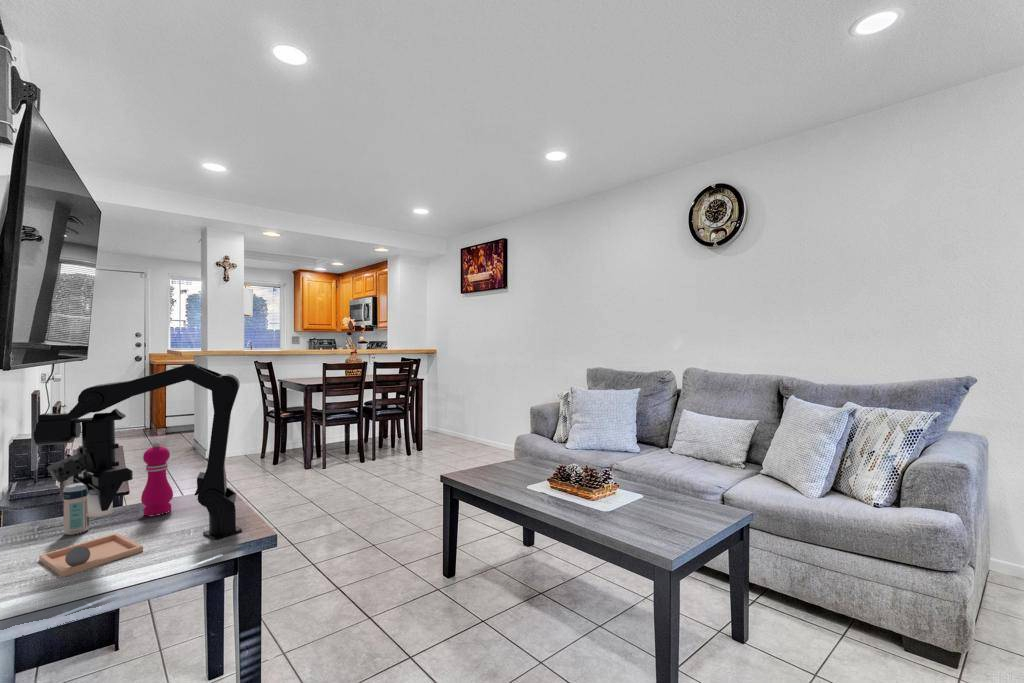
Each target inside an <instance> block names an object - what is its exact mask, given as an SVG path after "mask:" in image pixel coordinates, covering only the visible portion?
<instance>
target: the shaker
mask: <svg viewBox="0 0 1024 683" xmlns="http://www.w3.org/2000/svg"><path fill="white" fill-rule="evenodd" d="M113 501H114V500H113ZM113 501H112V503H111V505H110V507H109V509H108V510H106V511H101V508H100V504H99V499H98V495H97V490H96V489H95V488H93V489H91V490H89V493H88V494H87V511H88V517H89V518H96V517H101V516H106V515H109V514H112V513H113V512H114V507H113V506H114V505H113Z"/></svg>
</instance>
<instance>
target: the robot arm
mask: <svg viewBox="0 0 1024 683" xmlns="http://www.w3.org/2000/svg"><path fill="white" fill-rule="evenodd" d="M185 381H189V382H192V383H194V384H196V385H198V386H201V387H203V388H204V389H207V390H210V391H211V398H212V400H211V401H212V406H213V407H212V408H213V418H212V427H211V433H210V442H209V449H208V450H209V451H208V459H207V466H206V470H205V472H202V471H200V472H199V474H198V476H197V478H196V486H197V487H196V488H197V489H196V490H195V492H194V496H197V501H198V504H200V505H201V506H203V507H205V508H206V510H207V512H208V527H209V529H207V530H205V531H203V532H202V535H204V536H207V537H209V538H211V539H213V540H219V539H222V538H225V537H229V536H231V535H234V534H237V533H240V532H242V531H243V528H241V527H239V526H237V525H236V523H237V514H236V513H237V512H236V511H237V510H236V509H237V508H236V498H237V493H236V492H235V491H234V490H232V489H230V488H229V487H228V482H227V472H226V466H225V465H226V457H227V450H228V449H227V448H228V442H229V441H228V440H229V431H230V423H231V415H232V411H233V407H234V404H235V402H236V399H237V396H238V392H239V389H240V380H239V378H237V376H236V375H233V374H230V373H224V374H221V373H219V372H217V371H214V370H211V369H208V368H206V367H203V366H200V365H199V364H198V363H195V362H188V363H185V364H183V365H181V366H176V367H174V368H170V369H167V370H163V371H160V372H156V373H153V374H149V375H146V376H142V377H139V378H135V379H132V380H125V381H116V382H109V383H102V384H95V385H93V386H89V387H87V388H85V389H83V390H82V391H81V392H80V393H79V394H78V396H77V403H76V405H75V406H74V407H73V408H72V409H70V411H69V412H62V413H49V412H47V413H41V414H39V415H38V416H37V417H38V418H37V419H38V420H37V422H36V424H35V429H34V431H33V440H34V442H35V445H37V446H46V445H47V446H48V445H49V446H50V445H61V444H62V445H63V444H72V443H73V442H74V441H75V439H78V438H80V437H81V445H79V446H78V447H77V448H76V449H77V450H76V451H77V453H75V454H74V455H71V456H68V457H66V458H63V459H61V460H58V461H57V462H55V463H52V464H50V465H48V466H47V467H46V469H47V471H48V473H49V474H50V476H51V477H52V480H53V481H57V483H63V482H66V481H67V480H69V478H71V477H73V479H74V480H75V481H77V482H78V483H83V484H84V485H85V488H86V490H87V493H89V490H91V489H93V488H95V489H96V490H97V495H98V499H99V504H100V508H101V511H106V510H108V509H109V507H110V505H111V503H112V501H114V500H115V496H116V495H117V493H118V491H119V490H120V488H121V487H122V484H123V483H124V482H129V481H132V480H133V479H134V478H133V475H134V474H133V470H131V469H130V468H129V467H126V466H123V465H120V461H118V460H116V449H119V446H120V445H119V444H120V443H118V442H116V432H115V431H116V429H115V427H116V425H115V424H116V423H115V421H121V420H123V419H125V418H126V417H127V415H126V414H125V413H123V412H121V411H120V410H119V409H118V408H114V409H112V410H111V412H102V411H104V410H106V409H108V408H111V407H112V406H114V405H117V404H119V403H121V402H124V401H125V400H128V399H130V398H132V397H135V396H138V395H141V394H145V393H147V392H152V391H155V390H159V389H161V388H166V387H169V386H171V385H176V384H179V383H181V382H185ZM91 413H94V414H93V416H92V417H85V418H83V417H84V416H87V415H89V414H91ZM77 474H78V476H77V477H75V476H76V475H77Z"/></svg>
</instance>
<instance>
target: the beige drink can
mask: <svg viewBox="0 0 1024 683" xmlns="http://www.w3.org/2000/svg"><path fill="white" fill-rule="evenodd" d="M87 494H88V493H87V490H86V488H85V485H84V484H83V483H81V482H75V483H70V484H67V485H65V486H64V488H63V490H62V497H63V499H62V500H63V501H62V502H63V504H62V505H63V534H65V535H67V536H76V535H80V534H83V533H85V532H87V531H88V530H89V529H90V517H88V511H87ZM82 532H83V533H82ZM79 533H80V534H79ZM75 534H76V535H75Z"/></svg>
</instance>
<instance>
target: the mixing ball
mask: <svg viewBox="0 0 1024 683" xmlns="http://www.w3.org/2000/svg"><path fill="white" fill-rule="evenodd" d="M89 558H90V550H89V549H88V548H86V547H83V546H79V547H75V548H73V549H71V550H70V551H69V552H68V553H67V555H66V558H65V561H66V563H67V564H68V565H69V566H72V567H74V566H77V565H81V564H84V563H86V562H87V561H88V559H89Z"/></svg>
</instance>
